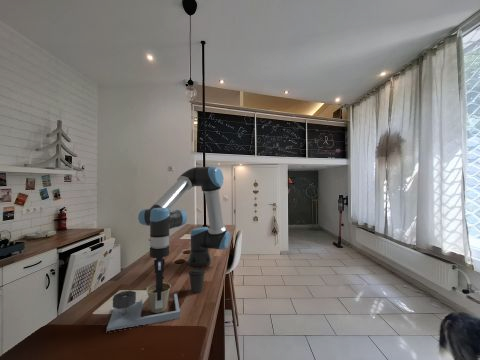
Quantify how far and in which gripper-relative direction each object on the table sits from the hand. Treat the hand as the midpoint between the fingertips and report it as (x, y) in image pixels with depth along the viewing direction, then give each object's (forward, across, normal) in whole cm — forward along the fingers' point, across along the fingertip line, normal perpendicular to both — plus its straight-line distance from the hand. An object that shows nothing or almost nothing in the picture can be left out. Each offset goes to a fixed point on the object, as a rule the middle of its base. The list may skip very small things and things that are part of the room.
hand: (158, 301), depth 91 cm
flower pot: (+3, 0, 0) cm, 3 cm away
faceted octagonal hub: (-2, 0, -12) cm, 13 cm away
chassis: (+4, 0, -5) cm, 6 cm away
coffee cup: (+4, -13, +18) cm, 22 cm away
